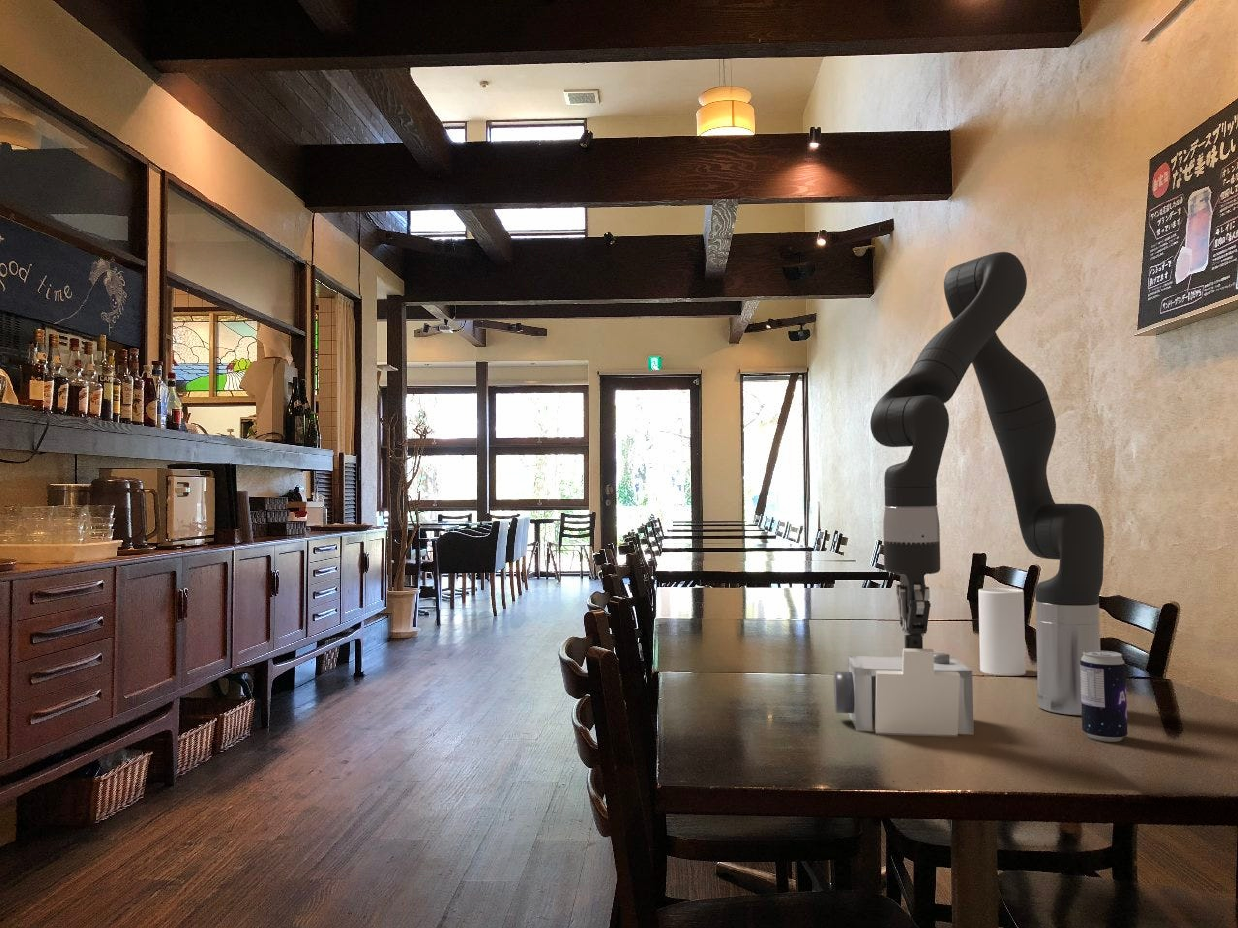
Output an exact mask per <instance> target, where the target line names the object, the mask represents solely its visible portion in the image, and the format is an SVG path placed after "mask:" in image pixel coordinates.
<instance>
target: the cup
mask: <svg viewBox="0 0 1238 928" xmlns="http://www.w3.org/2000/svg"><path fill="white" fill-rule="evenodd" d="M977 591H978V592H977V593H978V596H977V597H978V629H979V631H978V633H979V634H978V635H979V670H980V672H981V673H985V674H988V675H994V676H1004V677H1005V676H1006V677H1007V676H1008V677H1014V676H1015V677H1016V676H1023V675H1025V674H1026V672H1027V671H1026V639H1025V637H1026V636H1025V635H1026V634H1025V633H1026V631H1025V597H1024V596H1025V594H1024V590H1023V589H1017V588H1008V587H1007V588H1006V587H983V588H979V589H978V590H977Z"/></svg>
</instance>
